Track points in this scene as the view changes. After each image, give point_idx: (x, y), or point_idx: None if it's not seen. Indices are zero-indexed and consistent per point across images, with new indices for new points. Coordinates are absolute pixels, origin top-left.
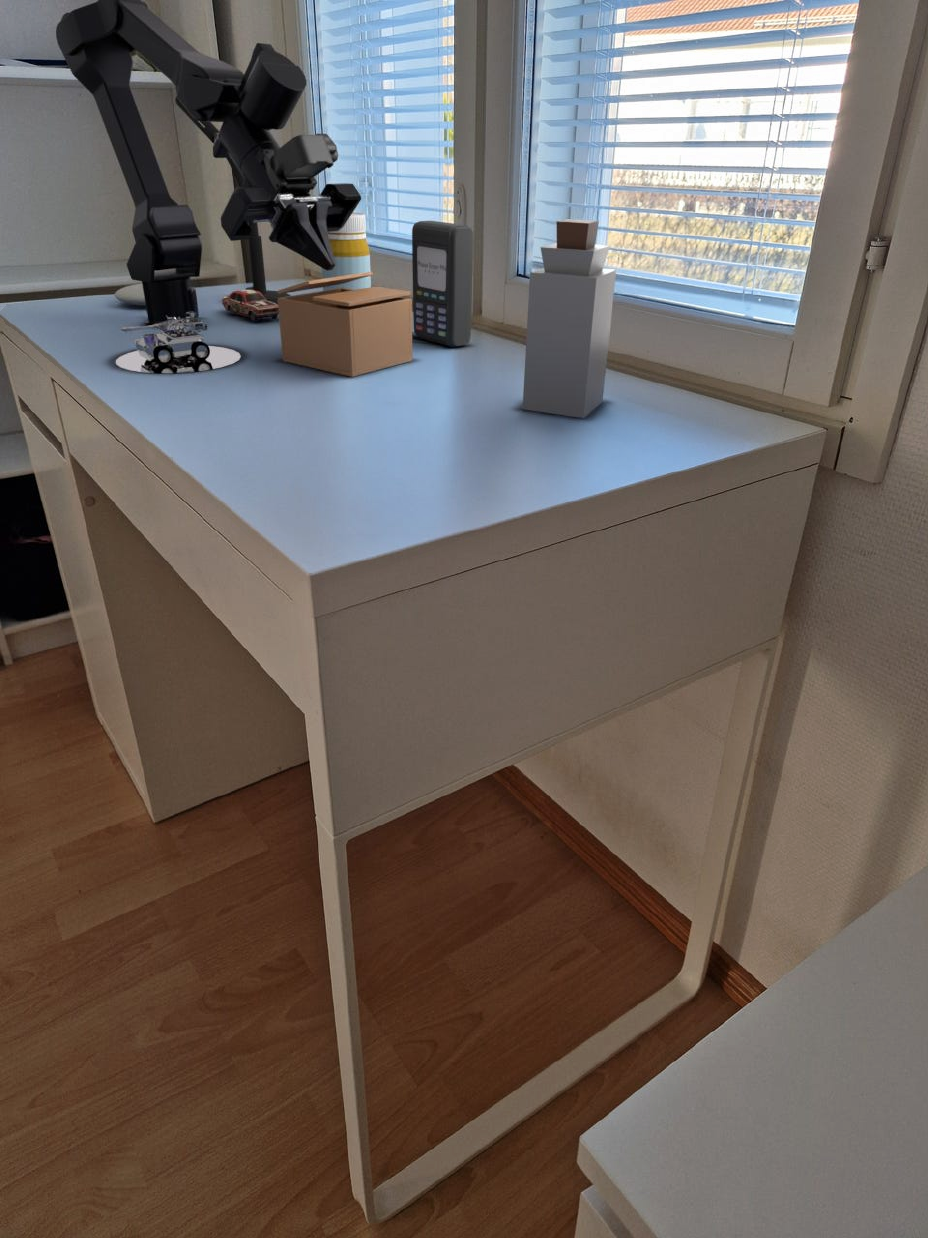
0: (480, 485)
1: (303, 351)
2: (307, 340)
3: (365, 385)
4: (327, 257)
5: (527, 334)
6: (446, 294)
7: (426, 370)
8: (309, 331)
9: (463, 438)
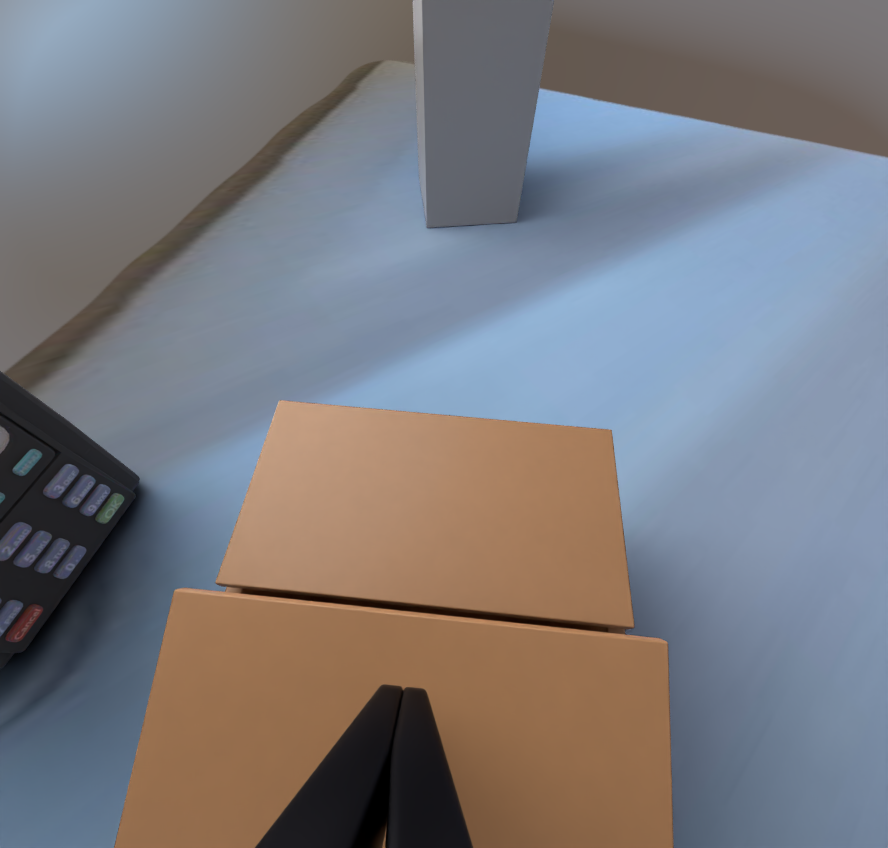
0: (762, 170)
1: None
2: None
3: None
4: (420, 724)
5: (535, 106)
6: (30, 436)
7: None
8: None
9: (673, 225)
